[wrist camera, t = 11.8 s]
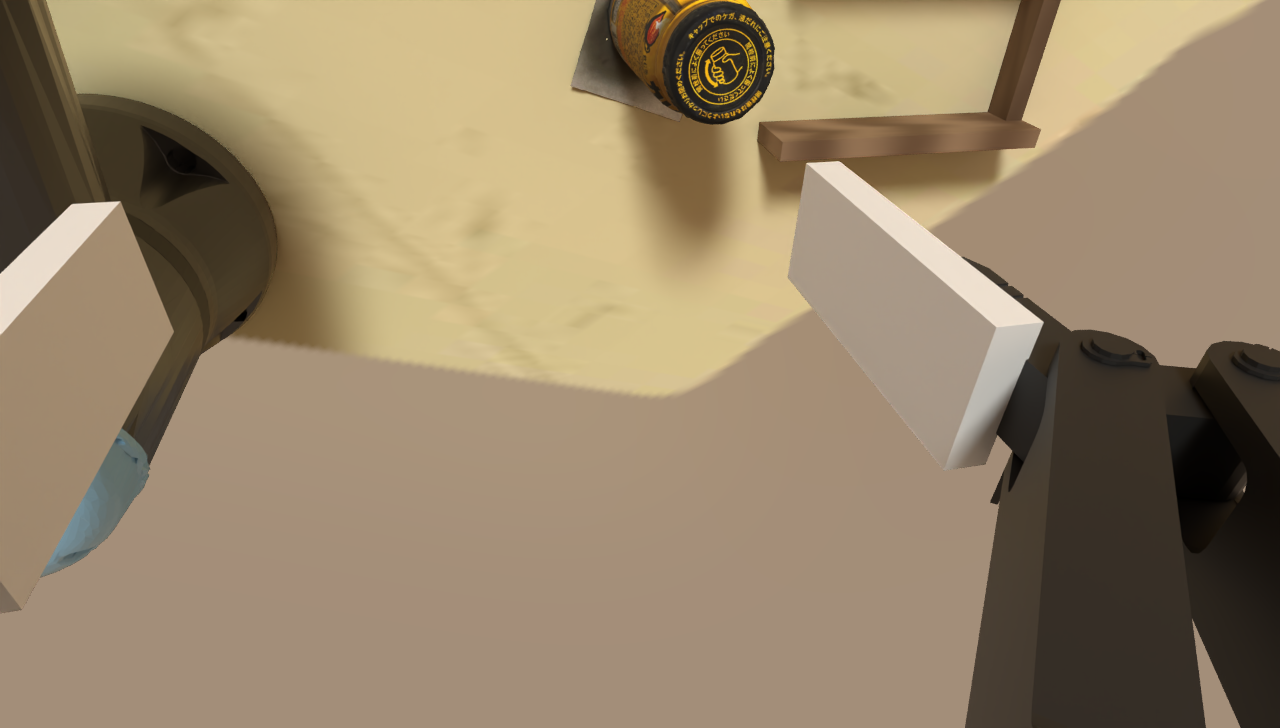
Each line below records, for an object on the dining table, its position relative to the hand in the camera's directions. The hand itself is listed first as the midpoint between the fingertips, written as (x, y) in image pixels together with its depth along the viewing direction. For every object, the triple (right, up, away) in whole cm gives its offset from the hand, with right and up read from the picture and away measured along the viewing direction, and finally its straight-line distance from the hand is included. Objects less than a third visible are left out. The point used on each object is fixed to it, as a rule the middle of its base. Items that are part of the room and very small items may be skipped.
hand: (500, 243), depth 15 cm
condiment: (+3, +17, +28) cm, 33 cm away
